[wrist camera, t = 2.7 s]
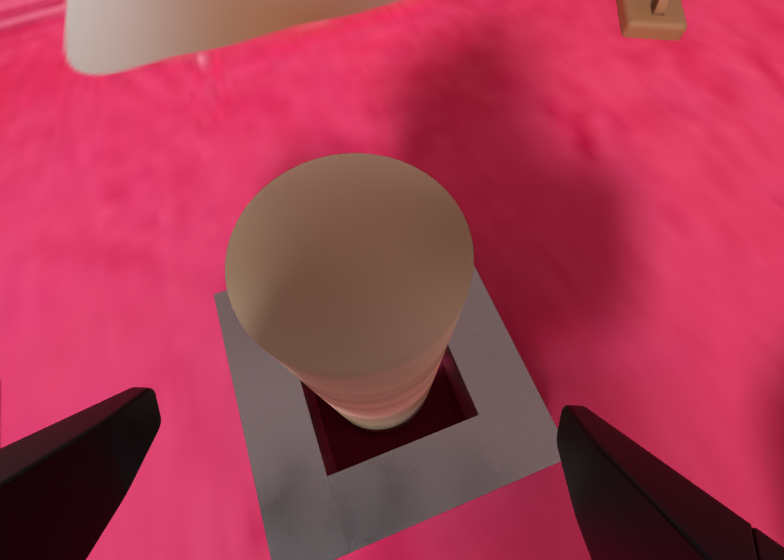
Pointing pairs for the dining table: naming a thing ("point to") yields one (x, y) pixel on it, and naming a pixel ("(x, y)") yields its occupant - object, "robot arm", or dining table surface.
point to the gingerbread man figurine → (651, 19)
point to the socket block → (399, 466)
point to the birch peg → (353, 281)
